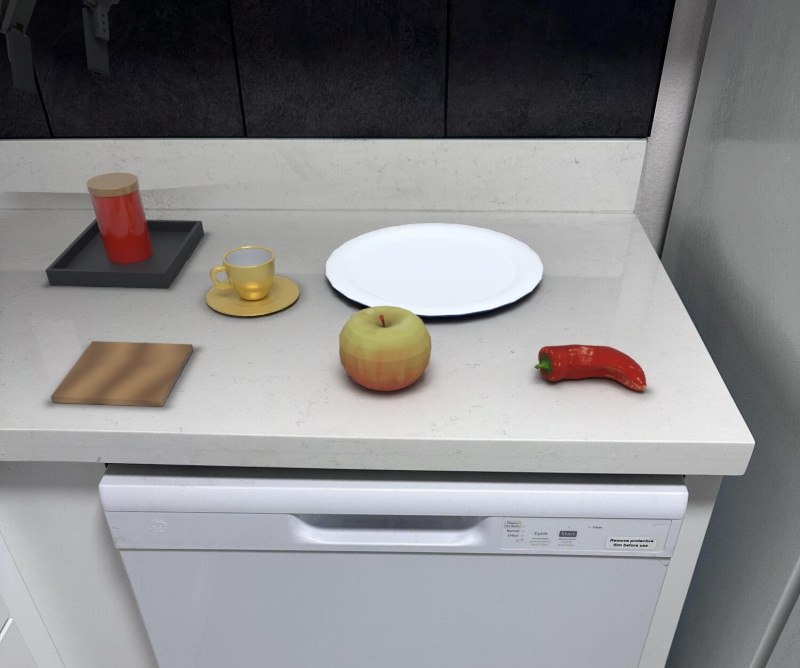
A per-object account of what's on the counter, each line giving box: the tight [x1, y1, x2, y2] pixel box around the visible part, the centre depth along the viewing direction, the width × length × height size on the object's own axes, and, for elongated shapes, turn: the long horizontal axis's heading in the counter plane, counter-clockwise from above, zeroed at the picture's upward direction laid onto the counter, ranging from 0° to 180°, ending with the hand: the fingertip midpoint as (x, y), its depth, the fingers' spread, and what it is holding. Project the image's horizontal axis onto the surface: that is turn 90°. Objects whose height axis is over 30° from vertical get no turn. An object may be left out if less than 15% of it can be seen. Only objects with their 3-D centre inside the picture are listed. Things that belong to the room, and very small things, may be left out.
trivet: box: [50, 340, 194, 408], centre depth 88 cm, size 12×12×1 cm
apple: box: [338, 306, 432, 392], centre depth 84 cm, size 10×10×8 cm
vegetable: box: [533, 343, 647, 392], centre depth 85 cm, size 4×5×12 cm
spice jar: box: [86, 172, 153, 264], centre depth 108 cm, size 7×7×10 cm
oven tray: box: [44, 218, 205, 289], centre depth 111 cm, size 16×18×2 cm
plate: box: [325, 222, 544, 318], centre depth 106 cm, size 29×29×2 cm
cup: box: [205, 245, 300, 317], centre depth 100 cm, size 12×12×5 cm
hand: (60, 81), depth 100 cm, fingers open, 13 cm apart
